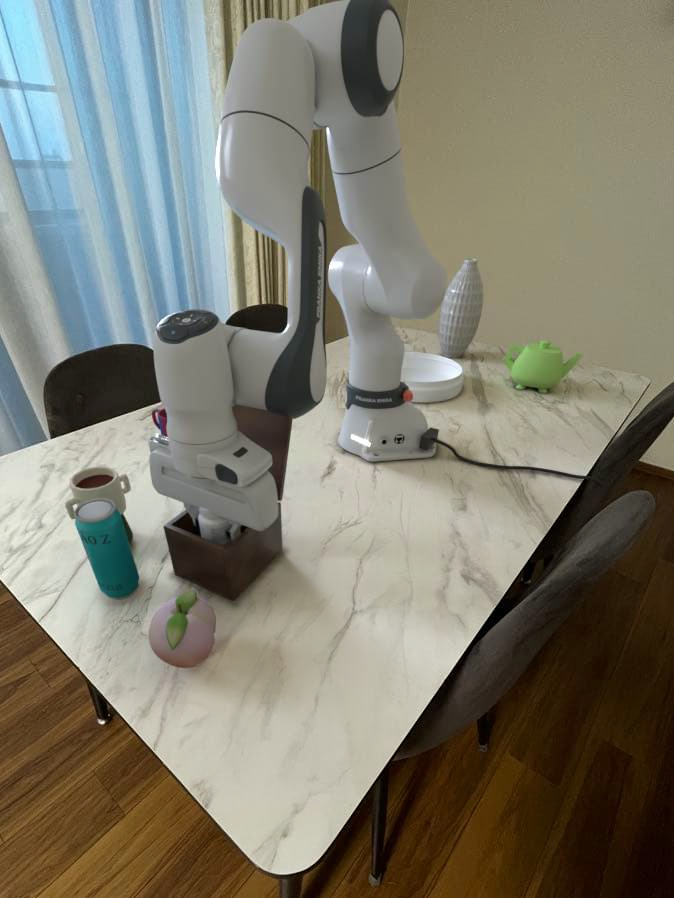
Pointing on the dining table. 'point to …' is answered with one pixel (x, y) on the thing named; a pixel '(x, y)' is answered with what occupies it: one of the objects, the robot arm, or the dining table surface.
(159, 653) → the decorative fruit
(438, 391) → the white round dish
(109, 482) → the character mug
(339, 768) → the dining table surface
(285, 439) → the lid
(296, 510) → the dining table surface
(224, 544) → the pill bottle
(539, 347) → the teapot
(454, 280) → the vase
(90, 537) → the beverage can
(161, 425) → the cup
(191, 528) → the box
